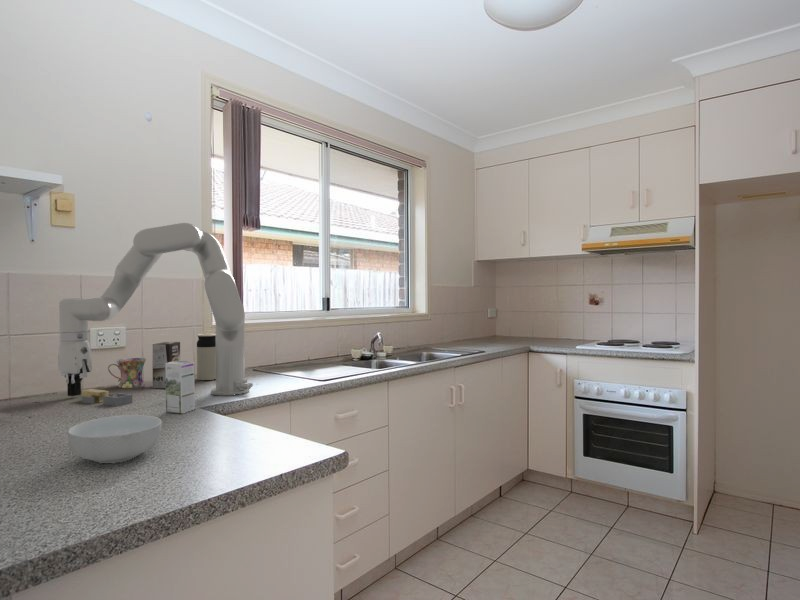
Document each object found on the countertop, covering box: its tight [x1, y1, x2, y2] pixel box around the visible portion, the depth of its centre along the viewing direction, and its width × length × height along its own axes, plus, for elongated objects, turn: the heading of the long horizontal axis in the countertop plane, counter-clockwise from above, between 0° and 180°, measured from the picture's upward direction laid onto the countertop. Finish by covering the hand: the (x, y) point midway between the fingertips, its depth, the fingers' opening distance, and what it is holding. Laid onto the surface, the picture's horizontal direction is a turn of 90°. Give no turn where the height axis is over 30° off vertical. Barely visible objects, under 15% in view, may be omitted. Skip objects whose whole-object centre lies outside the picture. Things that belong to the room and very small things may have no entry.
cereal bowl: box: [67, 414, 163, 464], centre depth 102 cm, size 17×17×7 cm
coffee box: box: [151, 341, 181, 389], centre depth 181 cm, size 9×6×16 cm
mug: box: [107, 357, 147, 389], centre depth 175 cm, size 12×9×11 cm
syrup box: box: [165, 360, 196, 414], centre depth 142 cm, size 6×6×14 cm
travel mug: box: [196, 333, 216, 381], centre depth 196 cm, size 8×8×18 cm
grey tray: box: [81, 392, 133, 407], centre depth 149 cm, size 15×24×4 cm, turn 157°
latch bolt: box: [81, 388, 110, 404], centre depth 151 cm, size 8×3×3 cm, turn 67°
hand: (74, 395), depth 155 cm, fingers closed
